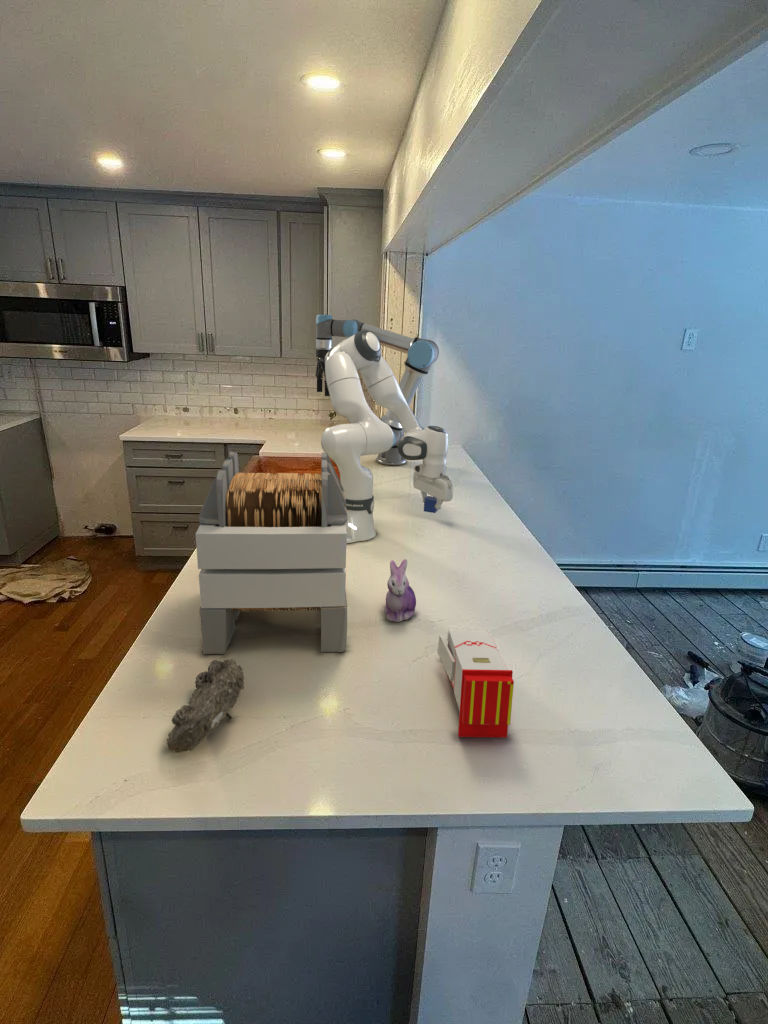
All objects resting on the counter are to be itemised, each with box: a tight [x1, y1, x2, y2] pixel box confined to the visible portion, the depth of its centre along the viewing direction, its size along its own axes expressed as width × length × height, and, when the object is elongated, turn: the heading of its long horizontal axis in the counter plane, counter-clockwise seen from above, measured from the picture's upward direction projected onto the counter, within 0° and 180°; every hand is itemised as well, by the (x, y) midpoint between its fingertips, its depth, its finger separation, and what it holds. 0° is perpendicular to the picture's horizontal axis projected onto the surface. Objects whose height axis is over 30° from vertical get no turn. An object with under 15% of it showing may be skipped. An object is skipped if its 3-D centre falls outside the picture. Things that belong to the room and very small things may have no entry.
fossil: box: [166, 658, 245, 754], centre depth 106 cm, size 22×10×15 cm
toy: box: [437, 628, 515, 738], centre depth 117 cm, size 12×13×30 cm
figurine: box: [384, 558, 417, 623], centre depth 145 cm, size 9×10×15 cm
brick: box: [423, 495, 439, 514], centre depth 214 cm, size 4×5×5 cm
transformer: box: [195, 450, 348, 656], centre depth 137 cm, size 34×33×41 cm
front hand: (431, 505), depth 214 cm, fingers closed on brick, 6 cm apart
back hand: (323, 394), depth 277 cm, fingers open, 13 cm apart
